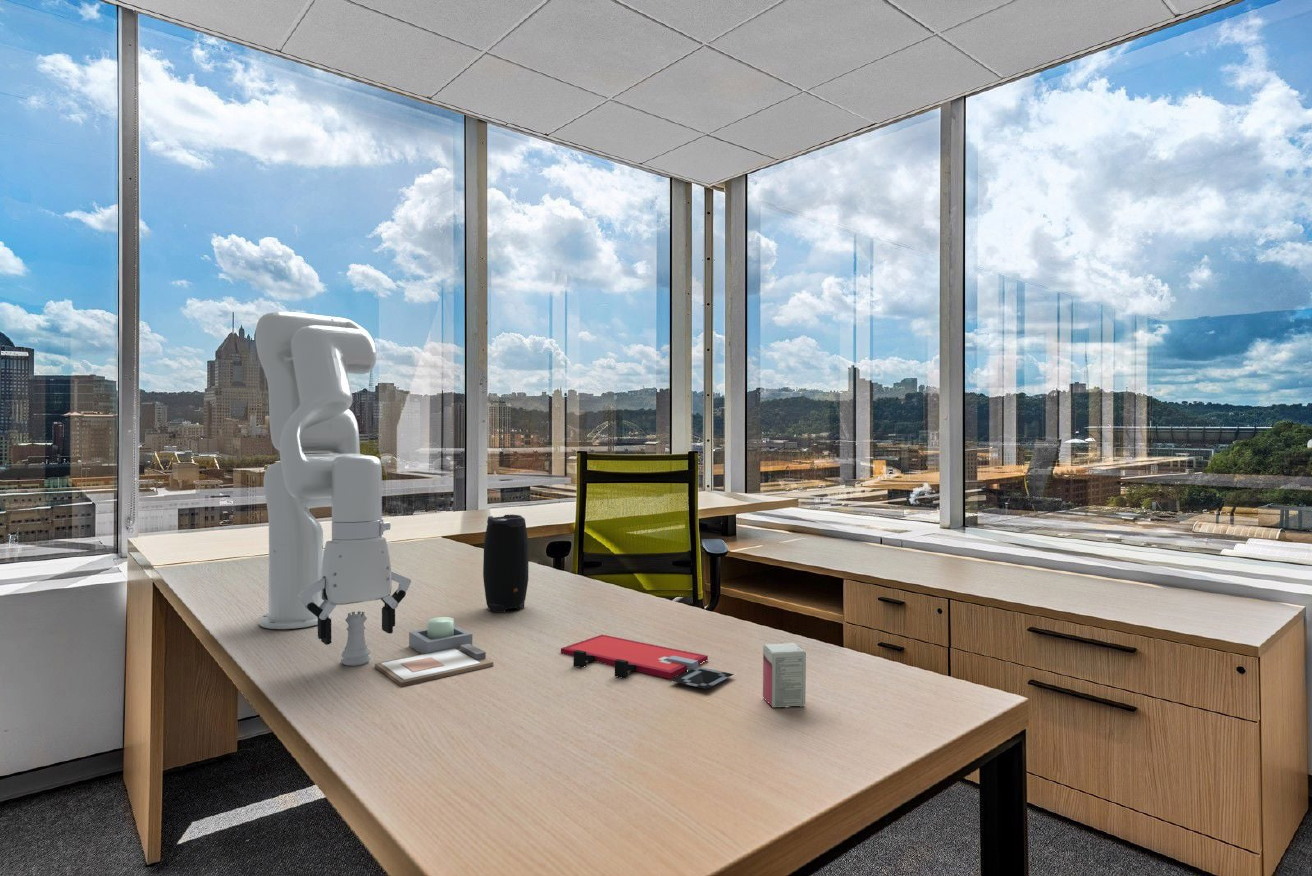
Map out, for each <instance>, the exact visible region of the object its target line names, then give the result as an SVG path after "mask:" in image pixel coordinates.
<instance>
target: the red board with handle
mask: <svg viewBox="0 0 1312 876" xmlns="http://www.w3.org/2000/svg"><path fill="white" fill-rule="evenodd" d="M563 653H564V655H567V654H568V655H567V656H571V655H572V656H573V658H572V659H573V661H572V662H573V665H572V666H573V667H576V666H580V667H584V666H586V667H587V662H591V663H592V662H593V661H599V662H602V663H601V664H603V663H606V664H605V665H608V664H609V666H612V667H614V677H615V676H618V677H617V678H619V677H622V678H621V679H623V678H625V679H627V678H629V672H638V671H639V672H640V673H643V674H647V675H652V676H656V675H657V677H661V678H666V679H669V681H670V682H675V683H679V684H684V685H688V686H693V687H697V688H701V689H705V690H707V689H710V688H711V687H713V686H715V685H717V684H719V683H721V682H723V681H724V680H726V679H728V678H731V677H732V676H733V675H734V674H735V673H730V672H725V671H720V670H716V669H711V668H707V667H702V666H700V665H699V664H700V663H702V662H703V661H706V660H708V661H709V659H708V658H709V655H705V654H701V653H696V652H691V651H685V650H681V649H677V648H671V647H666V646H662V645H656V644H651V643H647V642H641V641H636V640H630V639H626V638H621V637H618V636H617V637H616V636H611V635H607V634H599V635H596V636H594V637H591V638H588V639H585V640H581V641H579V642H575V643H573V644H570V645H567V646H563V647H561V648H560V654H563ZM599 662H598V663H599ZM698 665H699V666H698ZM580 667H579V668H580ZM584 668H585V667H584ZM687 670H688V672H685V671H687ZM683 672H684V673H683ZM677 675H678V676H677ZM675 676H676V677H675ZM626 677H627V678H626Z"/></svg>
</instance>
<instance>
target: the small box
mask: <svg viewBox="0 0 1312 876" xmlns="http://www.w3.org/2000/svg"><path fill="white" fill-rule="evenodd" d="M762 645H763V647H762V652H763V654H762V655H763V657H762V698H763V697H764V698H765V699H766V701H767V702H769V704H770V705H771V706H772V707H785V708H787V707H786V706H800V707H805V706H806V683H807V682H806V678H807V675H806V674H807V666H806V665H807V652H806V650H804V649H803V648H802V647H801V646H800V645H799V644H797V643H795V642H787V643H769V644H766V643H765V644H762ZM764 698H763V699H764ZM765 699H764V700H765ZM766 701H765V702H766ZM767 702H766V703H767ZM769 704H768V705H769ZM770 705H769V706H770ZM804 705H805V706H804ZM771 706H770V707H771Z"/></svg>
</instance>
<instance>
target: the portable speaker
mask: <svg viewBox="0 0 1312 876" xmlns="http://www.w3.org/2000/svg"><path fill="white" fill-rule="evenodd" d="M486 523H487V524H486V525H487V526H486V530H485V535H484V541H483V563H482V564H483V569H482V572H483V573H482V578H483V587H484V594H485V595H484V596H485V600H486V601H485V602H486V606H487V608H488V611H489V612H492V613H506V610H507V609H514V608H516V609H517V610H518V611H521V610H524V609H525V601H526V599H527V598H526V596H527V591H528V585H529V548H530V547H529V537H528V531H527V525H526V523H527V522H526V519H525V517H523V516H522V515H520V514H504V515H503V516H493V515H490V516H488V517H487V521H486Z"/></svg>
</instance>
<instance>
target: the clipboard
mask: <svg viewBox="0 0 1312 876" xmlns="http://www.w3.org/2000/svg"><path fill="white" fill-rule="evenodd" d="M486 654H487V652H486V651H484V650H482V649H480V648H478V647H476V646H475V645H473V644H472V645H471V644H465V645H460V648H454V649H449V650H444V651H439V652H434V653H429V654H427V653H425V654H421V653H420V654H416V655H411V656H410V655H409V656H407V657H401V658H395V659H391V660H387V661H381V662H376V663H374V668H375V669H376V670H378V671H379V672H380V673H382V674H384V675H385V676H386V677H387V678H389V679H390V680H392V681H393V682H395V683H396V684H397V685H399V686H400V687H401V688H402V687H405V686H410V685H414V684H419V683H423V682H428V681H431V680H432V681H433V680H436V679H442V678H446V677H449V676H454V675H458V674H464V673H467V672H471V671H472V670H473V671H476V670H482V669H485V668H490V667H494V661H492V660H490V659H488V658H487V657H486Z"/></svg>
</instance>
